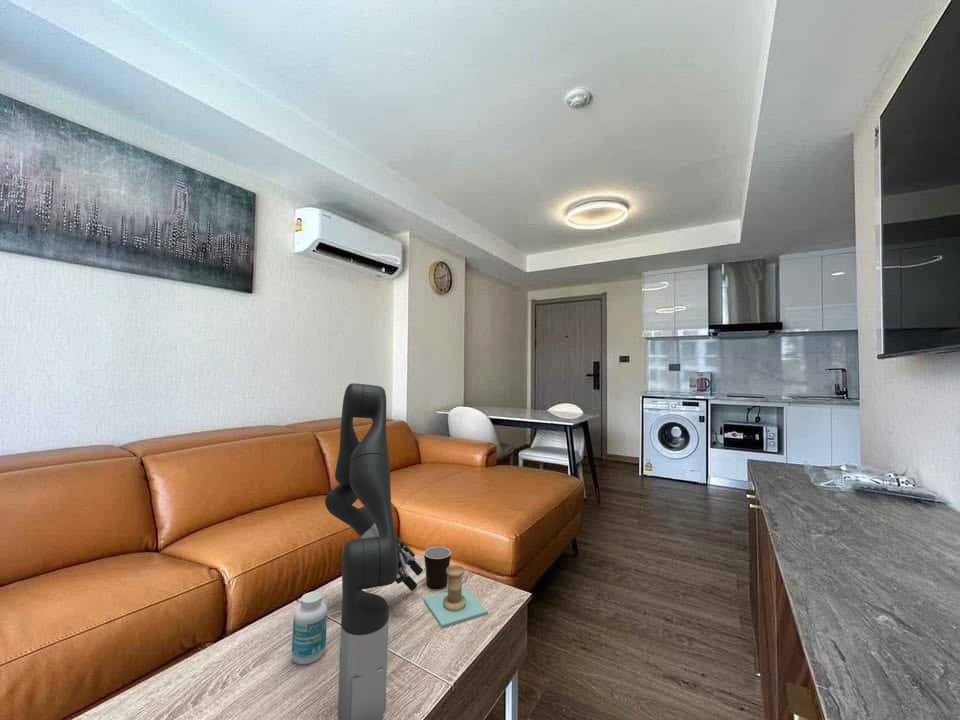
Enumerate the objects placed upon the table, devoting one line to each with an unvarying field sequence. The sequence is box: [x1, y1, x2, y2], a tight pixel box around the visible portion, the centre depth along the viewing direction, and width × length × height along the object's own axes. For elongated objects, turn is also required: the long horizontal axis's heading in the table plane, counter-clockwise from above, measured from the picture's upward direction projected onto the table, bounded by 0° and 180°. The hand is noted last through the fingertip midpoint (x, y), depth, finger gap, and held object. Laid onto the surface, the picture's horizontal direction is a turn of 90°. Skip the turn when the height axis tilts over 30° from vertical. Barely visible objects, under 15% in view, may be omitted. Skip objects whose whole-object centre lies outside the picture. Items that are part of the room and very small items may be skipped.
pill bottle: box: [291, 591, 328, 665], centre depth 93 cm, size 8×7×14 cm
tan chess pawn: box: [443, 564, 465, 611], centre depth 113 cm, size 6×6×10 cm
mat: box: [422, 586, 489, 629], centre depth 113 cm, size 14×14×1 cm
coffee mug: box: [423, 546, 452, 591], centre depth 127 cm, size 12×9×10 cm
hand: (417, 580), depth 114 cm, fingers open, 8 cm apart
